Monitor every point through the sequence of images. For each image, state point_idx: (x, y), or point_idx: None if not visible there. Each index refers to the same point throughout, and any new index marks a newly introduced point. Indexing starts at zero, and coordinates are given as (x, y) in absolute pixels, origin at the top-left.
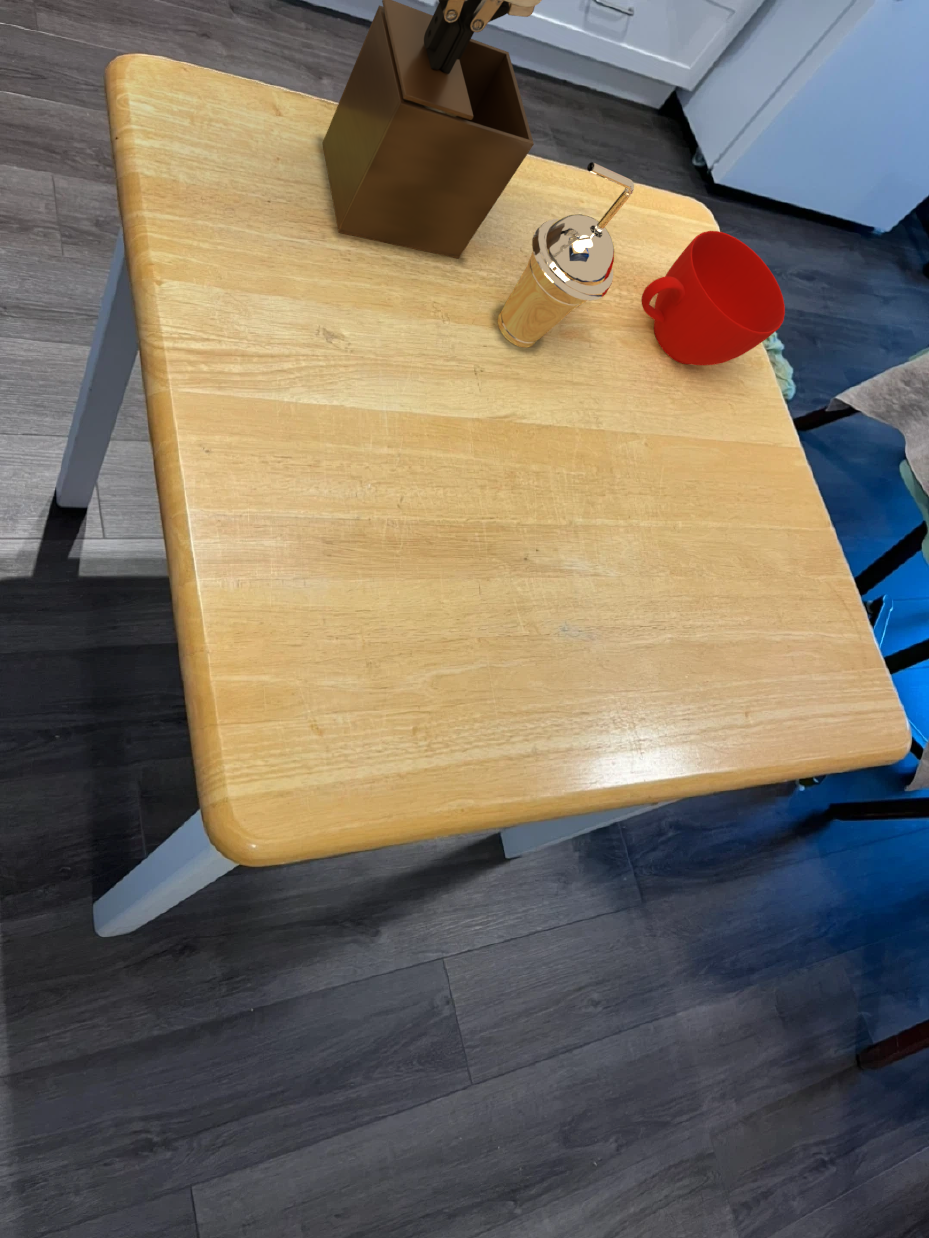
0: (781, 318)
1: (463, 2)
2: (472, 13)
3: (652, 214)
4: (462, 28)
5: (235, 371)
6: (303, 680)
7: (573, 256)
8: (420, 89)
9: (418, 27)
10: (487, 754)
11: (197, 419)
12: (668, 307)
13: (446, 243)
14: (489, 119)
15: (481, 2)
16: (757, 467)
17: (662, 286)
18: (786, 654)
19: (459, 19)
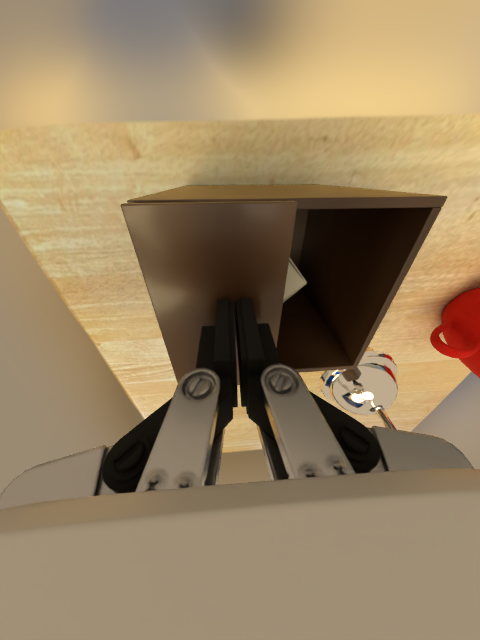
0: None
1: (219, 467)
2: (260, 426)
3: None
4: (244, 405)
5: (147, 373)
6: None
7: (342, 407)
8: None
9: (207, 264)
10: (239, 445)
11: (136, 391)
12: (458, 333)
13: None
14: (353, 251)
15: (271, 468)
16: (442, 370)
17: (450, 355)
18: (376, 423)
19: (242, 393)
